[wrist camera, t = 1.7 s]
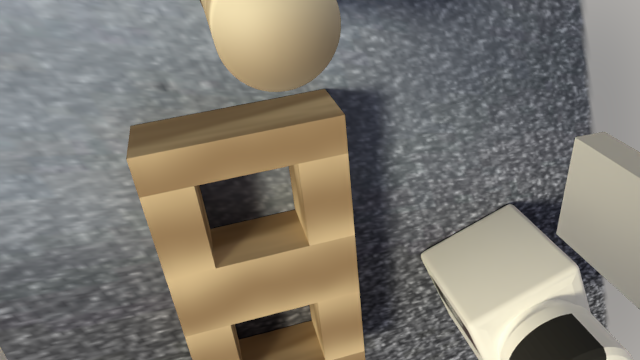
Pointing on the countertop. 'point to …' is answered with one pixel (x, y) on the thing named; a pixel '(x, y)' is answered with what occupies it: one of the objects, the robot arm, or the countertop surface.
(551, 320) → the container
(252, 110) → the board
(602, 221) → the robot arm
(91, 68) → the countertop surface
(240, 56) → the peg
